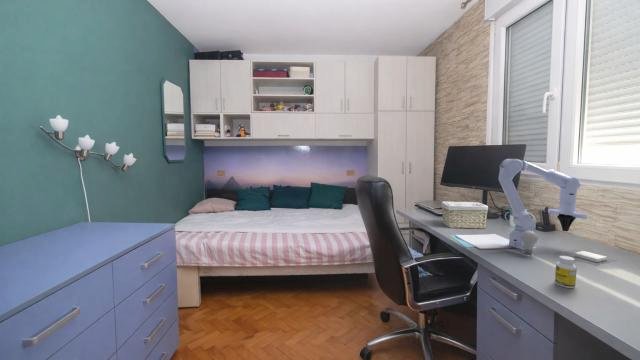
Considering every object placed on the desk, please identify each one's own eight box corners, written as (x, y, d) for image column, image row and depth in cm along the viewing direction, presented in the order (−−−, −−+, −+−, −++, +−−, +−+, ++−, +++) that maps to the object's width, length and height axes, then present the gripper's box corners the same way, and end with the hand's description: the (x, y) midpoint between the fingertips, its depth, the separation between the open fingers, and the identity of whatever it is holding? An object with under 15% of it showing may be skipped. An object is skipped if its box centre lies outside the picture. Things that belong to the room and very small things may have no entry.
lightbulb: (533, 253, 130) (535, 229, 129) (539, 257, 124) (540, 233, 123) (518, 251, 132) (519, 228, 131) (522, 255, 126) (524, 231, 125)
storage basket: (446, 228, 175) (447, 205, 173) (439, 222, 191) (440, 200, 189) (488, 229, 171) (489, 206, 170) (477, 223, 187) (478, 201, 186)
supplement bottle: (550, 281, 100) (552, 255, 99) (564, 281, 101) (566, 254, 100) (565, 289, 95) (567, 260, 94) (579, 288, 95) (582, 260, 94)
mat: (595, 267, 113) (595, 265, 113) (553, 254, 127) (553, 253, 127) (617, 261, 119) (618, 260, 119) (575, 250, 133) (575, 249, 133)
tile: (573, 256, 124) (596, 262, 117) (574, 252, 124) (597, 258, 116) (583, 254, 126) (606, 260, 119) (583, 250, 126) (607, 256, 119)
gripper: (592, 204, 127) (589, 233, 128) (555, 199, 140) (553, 226, 141) (582, 205, 124) (580, 235, 125) (546, 200, 138) (544, 227, 139)
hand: (565, 230), depth 133 cm, fingers closed
